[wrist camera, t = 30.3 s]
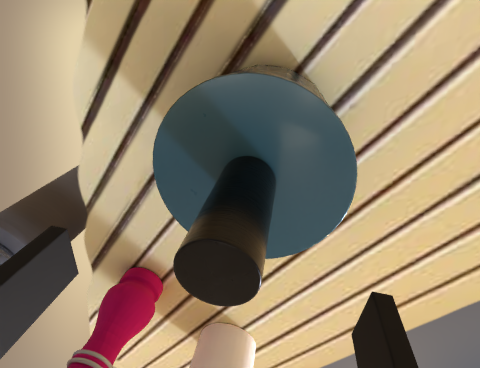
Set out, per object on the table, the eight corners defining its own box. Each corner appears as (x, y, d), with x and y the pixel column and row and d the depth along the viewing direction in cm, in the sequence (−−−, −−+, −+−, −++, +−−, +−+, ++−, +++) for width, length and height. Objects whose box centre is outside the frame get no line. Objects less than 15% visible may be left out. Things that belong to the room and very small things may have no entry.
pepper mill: (175, 285, 42) (88, 460, 25) (150, 304, 46) (59, 470, 28) (136, 256, 41) (16, 421, 24) (114, 278, 44) (-5, 436, 27)
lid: (162, 232, 25) (90, 336, 17) (153, 57, 18) (20, 79, 10) (325, 265, 24) (340, 400, 15) (385, 87, 17) (481, 147, 8)
